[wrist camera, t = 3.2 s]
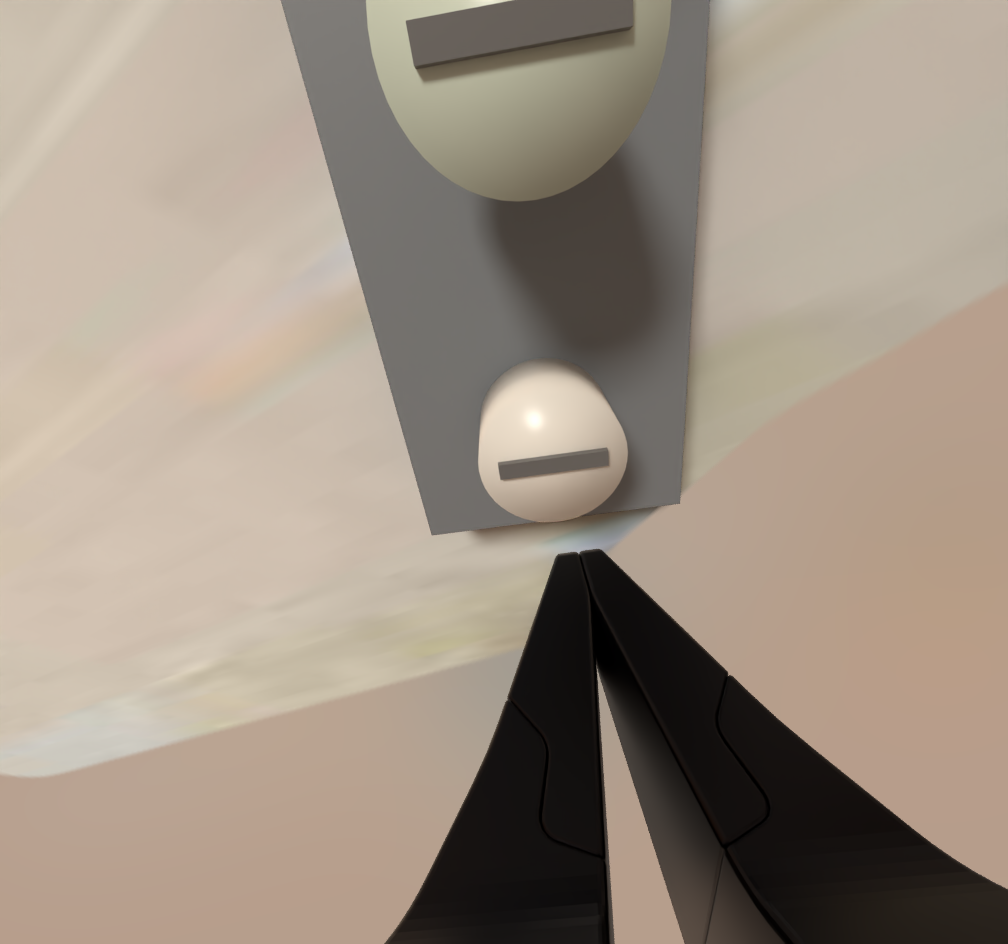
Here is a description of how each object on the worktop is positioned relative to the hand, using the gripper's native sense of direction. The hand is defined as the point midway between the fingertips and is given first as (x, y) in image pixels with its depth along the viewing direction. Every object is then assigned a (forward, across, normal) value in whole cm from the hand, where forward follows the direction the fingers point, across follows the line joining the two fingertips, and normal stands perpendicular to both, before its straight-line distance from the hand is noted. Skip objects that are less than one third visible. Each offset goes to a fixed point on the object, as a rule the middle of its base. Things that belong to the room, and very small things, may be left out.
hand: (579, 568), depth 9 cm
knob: (+12, 0, +1) cm, 12 cm away
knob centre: (+9, 0, -8) cm, 12 cm away
